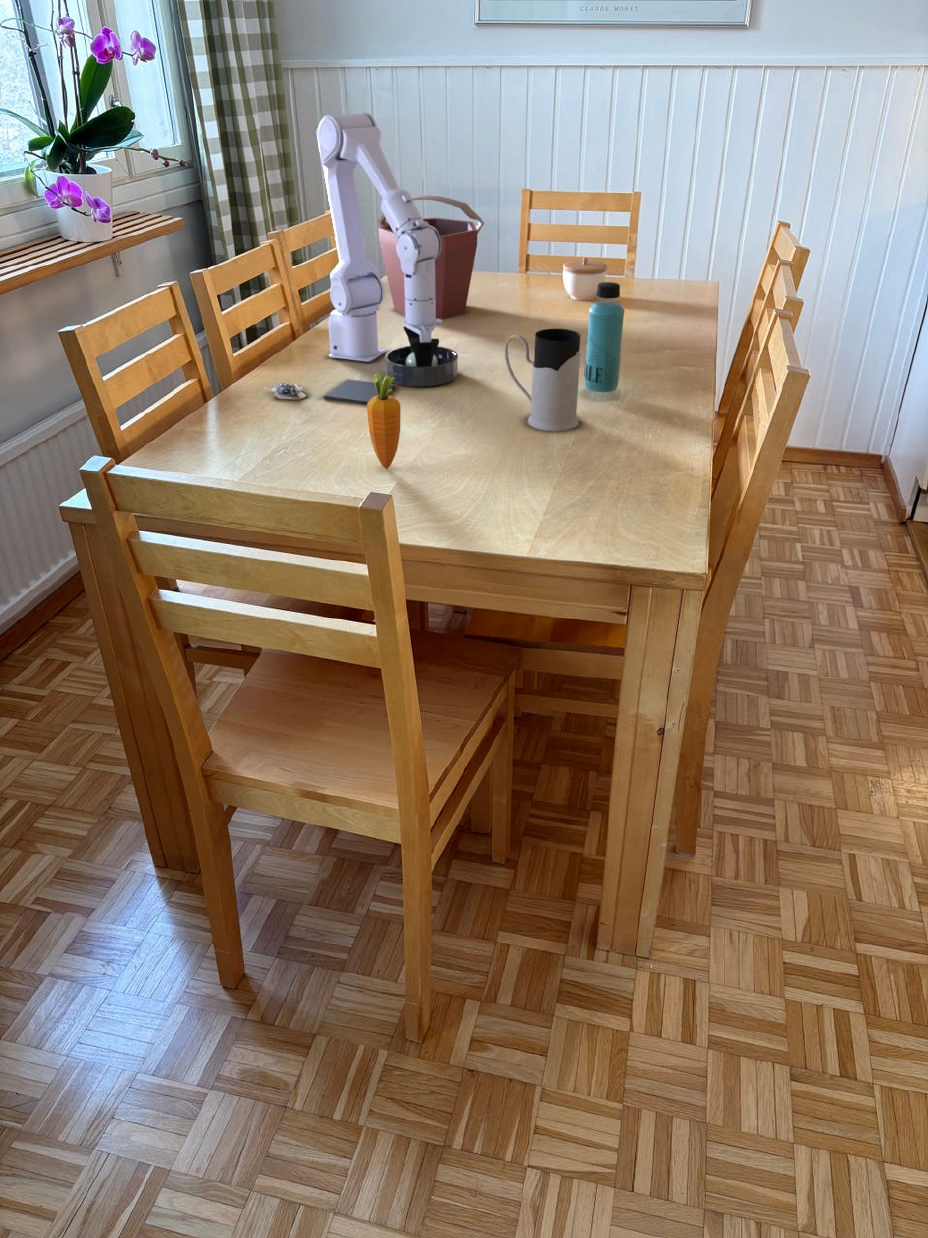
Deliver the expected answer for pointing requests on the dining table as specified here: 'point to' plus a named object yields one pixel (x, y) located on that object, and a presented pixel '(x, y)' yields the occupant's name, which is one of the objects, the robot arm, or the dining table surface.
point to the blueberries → (288, 391)
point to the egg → (412, 362)
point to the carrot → (384, 421)
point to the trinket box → (583, 278)
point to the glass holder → (552, 378)
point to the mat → (355, 391)
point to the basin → (421, 368)
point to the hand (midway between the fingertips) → (421, 369)
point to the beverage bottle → (604, 340)
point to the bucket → (438, 260)
